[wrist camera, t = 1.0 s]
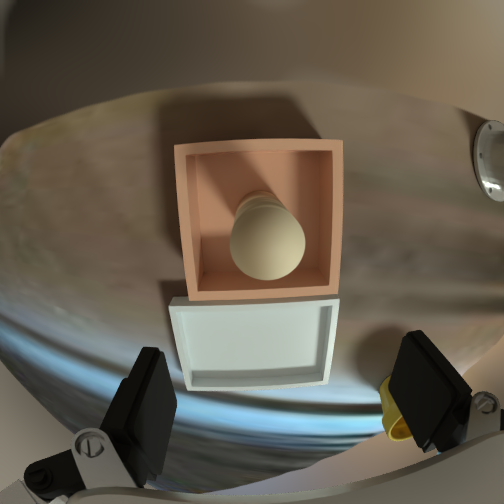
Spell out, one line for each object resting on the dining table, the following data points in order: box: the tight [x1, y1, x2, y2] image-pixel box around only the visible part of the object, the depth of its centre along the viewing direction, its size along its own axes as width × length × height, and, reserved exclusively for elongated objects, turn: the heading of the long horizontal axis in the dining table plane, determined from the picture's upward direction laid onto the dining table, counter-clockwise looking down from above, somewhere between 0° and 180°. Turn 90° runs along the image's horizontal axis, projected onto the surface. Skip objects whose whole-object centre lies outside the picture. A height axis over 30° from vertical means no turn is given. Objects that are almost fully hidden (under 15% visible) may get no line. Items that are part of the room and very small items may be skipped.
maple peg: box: [230, 190, 305, 280], centre depth 24 cm, size 5×5×12 cm
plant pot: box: [379, 374, 413, 441], centre depth 36 cm, size 10×10×10 cm
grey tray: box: [169, 294, 340, 391], centre depth 35 cm, size 20×14×2 cm
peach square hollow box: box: [174, 139, 343, 301], centre depth 28 cm, size 15×15×6 cm
